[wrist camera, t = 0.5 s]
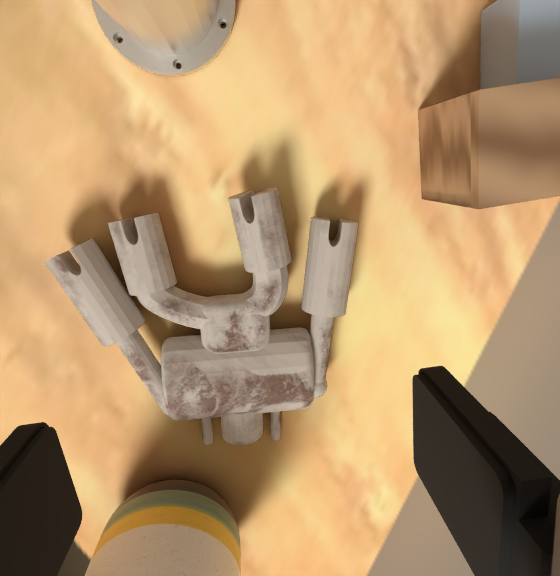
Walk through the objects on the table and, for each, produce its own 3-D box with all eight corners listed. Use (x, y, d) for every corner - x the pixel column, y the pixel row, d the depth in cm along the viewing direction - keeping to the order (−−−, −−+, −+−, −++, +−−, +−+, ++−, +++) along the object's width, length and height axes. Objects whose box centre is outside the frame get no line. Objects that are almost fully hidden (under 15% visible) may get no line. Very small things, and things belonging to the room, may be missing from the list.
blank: (480, 11, 39) (520, -16, 33) (520, 6, 39) (566, -22, 33) (478, 151, 43) (514, 148, 37) (514, 146, 43) (555, 142, 37)
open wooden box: (418, 110, 41) (478, 89, 30) (531, 92, 41) (630, 66, 31) (421, 198, 44) (478, 209, 33) (528, 181, 44) (618, 186, 33)
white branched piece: (55, 229, 42) (135, 466, 50) (19, 237, 35) (119, 511, 43) (341, 172, 44) (376, 409, 52) (360, 169, 37) (398, 443, 45)
